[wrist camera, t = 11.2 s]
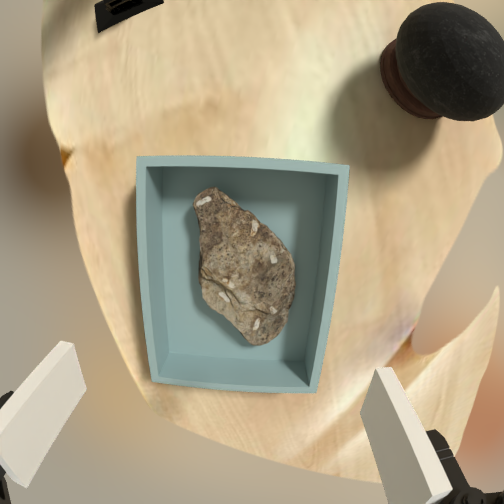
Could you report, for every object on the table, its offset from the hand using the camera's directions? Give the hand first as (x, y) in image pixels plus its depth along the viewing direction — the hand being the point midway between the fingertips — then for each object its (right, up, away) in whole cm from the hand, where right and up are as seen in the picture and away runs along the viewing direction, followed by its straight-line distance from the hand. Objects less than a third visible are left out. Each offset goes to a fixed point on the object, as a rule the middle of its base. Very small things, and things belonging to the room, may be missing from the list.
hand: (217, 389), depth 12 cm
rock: (+1, +4, +24) cm, 25 cm away
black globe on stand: (+22, +27, +18) cm, 40 cm away
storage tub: (0, +4, +25) cm, 25 cm away
